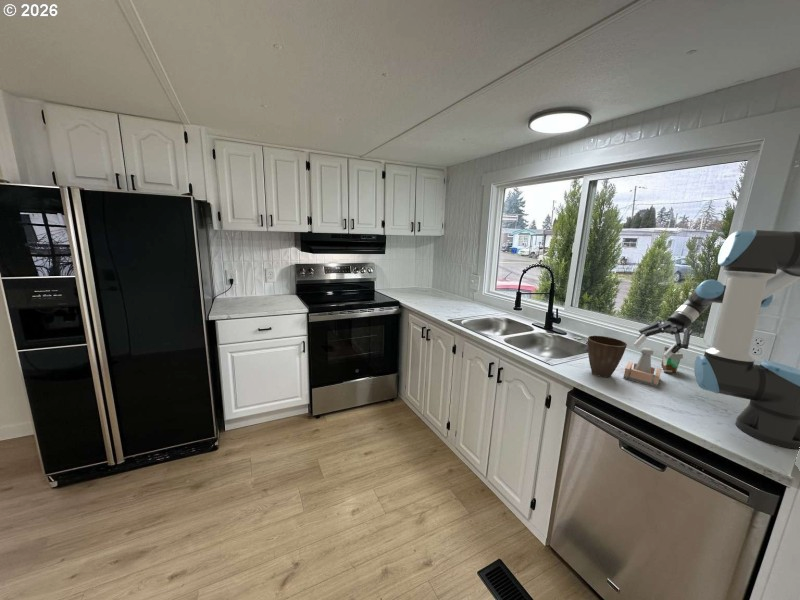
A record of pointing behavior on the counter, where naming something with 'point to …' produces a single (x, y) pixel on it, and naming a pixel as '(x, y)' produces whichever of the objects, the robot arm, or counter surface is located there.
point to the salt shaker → (645, 360)
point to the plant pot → (604, 354)
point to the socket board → (642, 375)
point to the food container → (671, 361)
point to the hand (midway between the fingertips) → (649, 351)
